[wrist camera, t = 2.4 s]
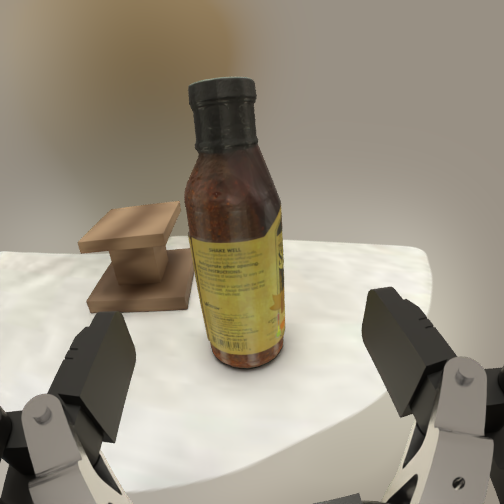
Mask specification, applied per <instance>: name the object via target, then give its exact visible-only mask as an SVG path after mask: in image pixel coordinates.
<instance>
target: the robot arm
mask: <svg viewBox="0 0 504 504" xmlns="http://www.w3.org/2000/svg"><path fill="white" fill-rule="evenodd" d="M362 338H363V342H364V344H365V347H366V348H367V350H368V352H369V354H370V356H371V358H372V360H373V362H374V364H375V366H376V368H377V370H378V372H379V374H380V376H381V378H382V380H383V382H384V384H385V386H386V389H387V391H388V393H389V395H390V397H391V399H392V401H393V403H394V405H395V407H396V409H397V412H398V414H399V416H400V417H404V416H407V415H410V414H413V415H414V417H415V419H416V420H415V421H414V423H413V426H412V429H411V432H410V436H409V439H408V442H407V445H406V448H405V451H404V454H403V457H402V460H401V462H400V465H399V468H398V470H397V473H396V475H395V477H394V479H393V480H392V482H391V483H390V485H389V487H388V489H387V491H386V492H385V494H384V496H383V499H382V501H381V502H378V501H361V498H360V495H359V493H357V494H354V495H350V496H346V497H342V498H338V499H333V500H329V501H324V502H319V503H314V504H484V501H485V497H486V492H487V488H488V482H489V477H490V478H491V480H492V483H493V486H494V488H495V490H496V493H497V496H498V499H499V502H500V504H504V366H503V368H493V369H484V368H483V367H482V366H481V365H480V364H479V363H478V362H477V361H475V360H473V359H471V358H468V357H457V356H456V354H455V353H454V351H453V350H452V349H451V347H450V346H449V345H448V344H447V342H446V341H445V340H444V338H443V337H442V336H441V334H440V333H439V332H438V330H437V329H436V328H435V327H433V324H432V323H431V322H430V320H429V319H427V317H426V315H425V314H424V313H423V312H422V310H421V309H420V308H419V307H418V306H416V305H415V304H413V303H412V302H410V301H409V300H407V299H405V300H403V299H402V298H401V296H400V295H399V294H398V293H397V291H396V290H395V289H394V288H393V287H385V288H378V289H371V290H370V291H369V292H368V296H367V301H366V307H365V313H364V318H363V323H362ZM135 363H136V352H135V347H134V344H133V341H132V339H131V336H130V334H129V331H128V328H127V326H126V323H125V320H124V317H123V315H122V313H121V312H120V311H106V312H97V313H96V315H95V317H94V319H93V321H92V322H91V324H90V326H89V327H85V328H84V329H83V330H82V331H81V332H80V333H79V334H78V335H77V336H76V337H75V338H74V340H73V342H72V344H71V346H70V350H68V352H67V354H66V356H65V360H63V362H62V364H61V366H60V368H59V370H58V372H57V374H56V376H55V378H54V380H53V382H52V384H51V387H50V389H49V391H48V393H47V394H41V395H38V396H35V397H34V398H32V399H31V400H30V401H29V402H28V403H27V404H26V405H25V407H24V409H23V410H22V411H13V412H5V411H4V410H3V409H2V408H1V406H0V461H1V458H2V459H3V460H5V461H6V462H7V463H8V464H9V468H8V471H7V475H6V479H5V482H4V487H3V491H2V495H1V498H0V504H133V503H132V501H131V500H130V499H129V497H128V496H127V494H126V493H125V491H124V490H123V488H122V486H121V485H120V483H119V481H118V480H117V478H116V476H115V475H114V473H113V471H112V469H111V468H110V466H109V464H108V462H107V460H106V458H105V456H104V455H103V453H102V451H101V450H100V448H101V444H102V442H109V443H115V441H116V437H117V432H118V428H119V424H120V420H121V416H122V412H123V408H124V404H125V400H126V396H127V392H128V388H129V385H130V381H131V377H132V374H133V370H134V367H135Z"/></svg>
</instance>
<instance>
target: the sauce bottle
mask: <svg viewBox="0 0 504 504" xmlns="http://www.w3.org/2000/svg"><path fill="white" fill-rule="evenodd" d="M188 91H189V104H190V106H191V109H192V111H193V113H194V123H195V133H196V144H195V149H196V150H197V151H198V153H199V156H198V159H197V161H196V164H195V166H194V169H193V170H192V173H191V175H190V177H189V180H188V182H187V185H186V188H185V197H184V198H185V207H186V211H187V218H188V226H189V232H188V237H189V243H190V249H191V255H192V260H193V266H194V271H195V277H196V282H197V288H198V293H199V298H200V304H201V308H202V313H203V318H204V323H205V327H206V332H207V337H208V340H209V341H210V343H211V347H212V351H213V353H214V355H215V356H216V357H217V358H218V359H219V360H220V361H222V362H224V363H225V364H229V365H230V366H233V367H239V368H252V367H257V366H260V365H263V364H265V363H267V362H269V361H271V360H272V359H274V358H275V357H276V356H277V355H278V353H279V352H280V350H281V348H282V345H283V335H284V331H285V302H284V268H283V264H284V259H283V238H282V215H281V214H282V213H281V201H280V198H279V196H278V193H277V191H276V188H275V185H274V183H273V180H272V178H271V175H270V173H269V170H268V168H267V166H266V163H265V160H264V158H263V155H262V153H261V151H260V148H259V146H258V144H257V143H258V139H257V136H256V127H255V114H254V103H255V100H256V96H257V95H256V90H255V83H254V81H253V80H252V79H250V78H247V77H222V78H214V79H207V80H202V81H198V82H195V83H193V84H191V85H189V89H188Z"/></svg>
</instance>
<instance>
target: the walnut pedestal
mask: <svg viewBox="0 0 504 504" xmlns="http://www.w3.org/2000/svg"><path fill="white" fill-rule="evenodd" d="M180 211H181V208H180V201H175V202H166V203H157V204H149V205H141V206H133V207H125V208H118V209H111V210H110V211H109V212H108V213H107V214H106V215H105V216H104V217H103V218H102V219H101V220H100V221H99V222H98V223H97V224H96V225H94V227H93V228H91V229H90V231H88V233H87V234H85V236H83V238H82V239H81V240H80V241H79V242H78V245H79V249H80V252H81V254H82V253H92V252H101V251H109V254H110V257H111V261H112V262H111V264H110V265H109V267H108V268H107V270H106V271H105V273H104V274H103V276H102V277H101V279H100V280H99V282H98V283H97V285H96V287H95V288H94V290H93V291H92V293H91V295H90V296H89V298H88V299H87V301H86V302H87V305H88V307H89V310H90V312H91V313H97V312H106V311H120V312H142V311H165V310H184V309H187V308H188V302H189V297H190V291H191V285H192V280H193V274H194V266H193V260H192V255H191V249H190V248H188V249H176V250H166V246H165V245H166V243H167V241H168V238H169V236H170V234H171V232H172V229H173V227H174V225H175V223H176V220H177V218H178V216H179V214H180Z"/></svg>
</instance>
